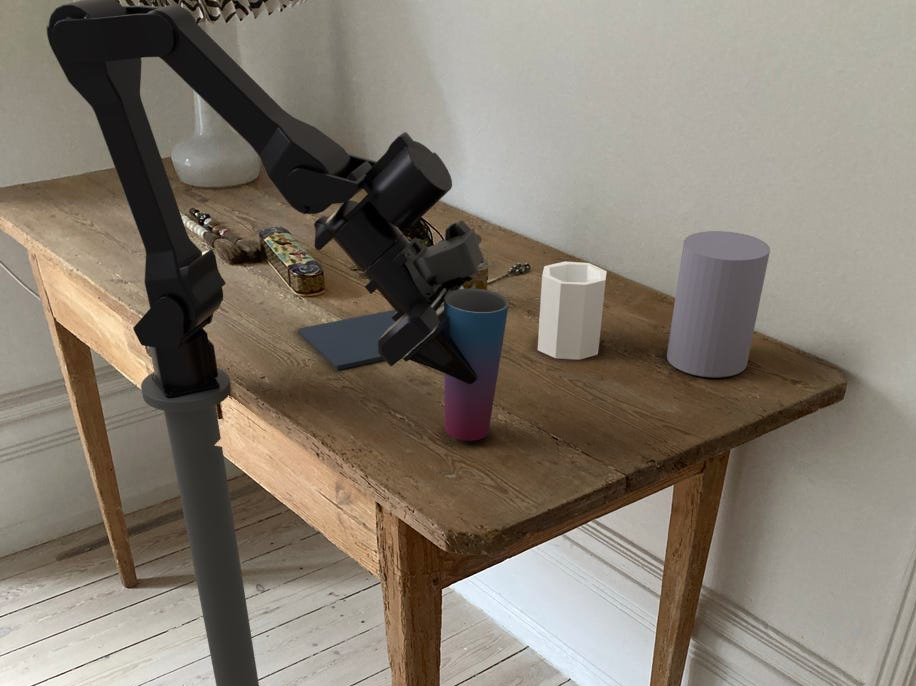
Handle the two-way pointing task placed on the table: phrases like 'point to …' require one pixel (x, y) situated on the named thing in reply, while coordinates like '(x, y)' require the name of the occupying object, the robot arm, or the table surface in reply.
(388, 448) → the table surface
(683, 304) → the container
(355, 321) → the placemat
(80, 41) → the robot arm
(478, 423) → the cup
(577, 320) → the white octagonal pot
